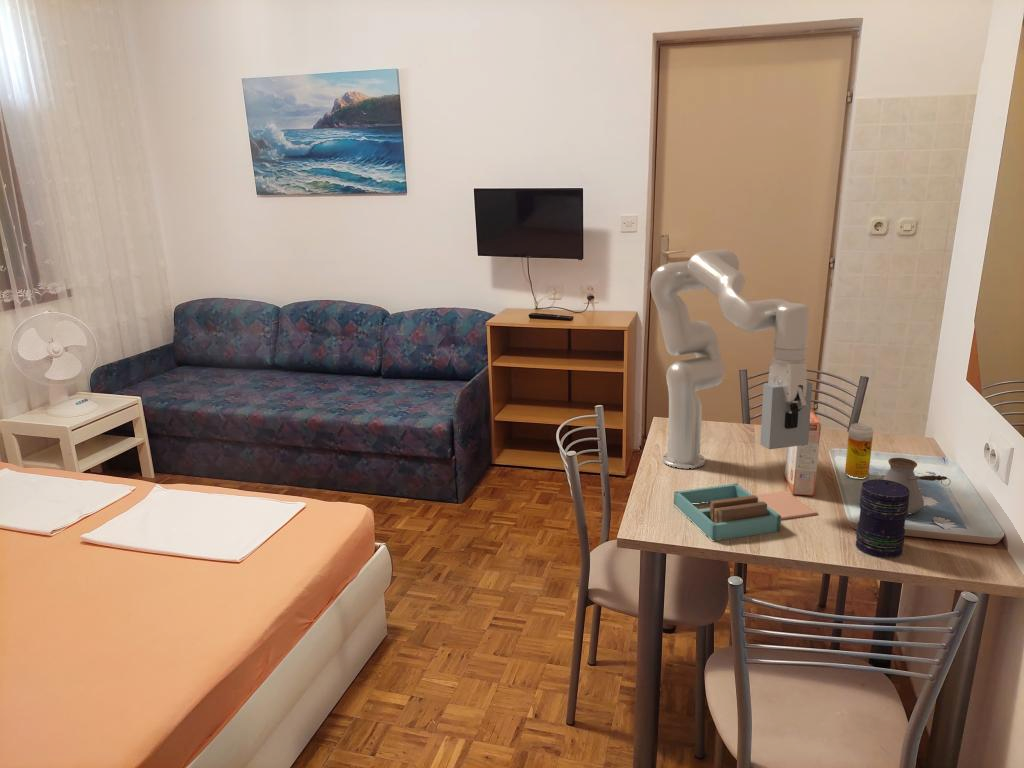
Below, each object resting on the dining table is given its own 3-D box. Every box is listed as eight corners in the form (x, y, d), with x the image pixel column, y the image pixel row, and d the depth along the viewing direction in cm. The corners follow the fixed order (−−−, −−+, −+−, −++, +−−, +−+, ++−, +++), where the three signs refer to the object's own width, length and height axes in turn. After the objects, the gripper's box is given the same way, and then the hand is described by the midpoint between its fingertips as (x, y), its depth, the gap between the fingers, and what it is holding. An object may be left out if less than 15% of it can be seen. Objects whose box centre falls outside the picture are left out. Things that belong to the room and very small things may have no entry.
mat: (741, 498, 195) (741, 496, 195) (784, 492, 198) (784, 490, 198) (771, 521, 182) (771, 519, 182) (817, 514, 185) (817, 512, 185)
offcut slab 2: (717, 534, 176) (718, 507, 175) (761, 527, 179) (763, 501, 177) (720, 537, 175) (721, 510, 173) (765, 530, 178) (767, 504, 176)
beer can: (857, 482, 203) (862, 431, 199) (839, 474, 209) (844, 424, 205) (873, 478, 206) (878, 427, 202) (855, 470, 211) (860, 421, 207)
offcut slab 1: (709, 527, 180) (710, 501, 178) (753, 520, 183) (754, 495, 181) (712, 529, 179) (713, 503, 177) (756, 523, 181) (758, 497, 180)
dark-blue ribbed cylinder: (901, 562, 161) (909, 500, 157) (853, 552, 166) (859, 492, 162) (903, 543, 169) (911, 483, 165) (857, 534, 174) (863, 476, 170)
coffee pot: (862, 501, 191) (868, 447, 187) (903, 498, 193) (909, 444, 189) (916, 539, 171) (924, 480, 167) (961, 535, 172) (970, 476, 168)
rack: (673, 505, 192) (674, 491, 191) (735, 497, 196) (736, 483, 195) (712, 541, 173) (712, 525, 172) (779, 531, 177) (781, 515, 176)
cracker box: (815, 496, 195) (822, 422, 189) (791, 495, 196) (797, 421, 191) (806, 476, 208) (812, 406, 203) (784, 475, 209) (789, 405, 204)
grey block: (760, 444, 186) (763, 383, 182) (798, 439, 188) (802, 379, 184) (769, 449, 182) (772, 387, 178) (808, 444, 184) (812, 383, 180)
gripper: (757, 348, 186) (753, 417, 191) (796, 362, 170) (791, 437, 175) (783, 346, 188) (779, 414, 192) (825, 359, 172) (819, 433, 177)
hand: (785, 424), depth 184 cm, fingers closed on grey block, 4 cm apart
